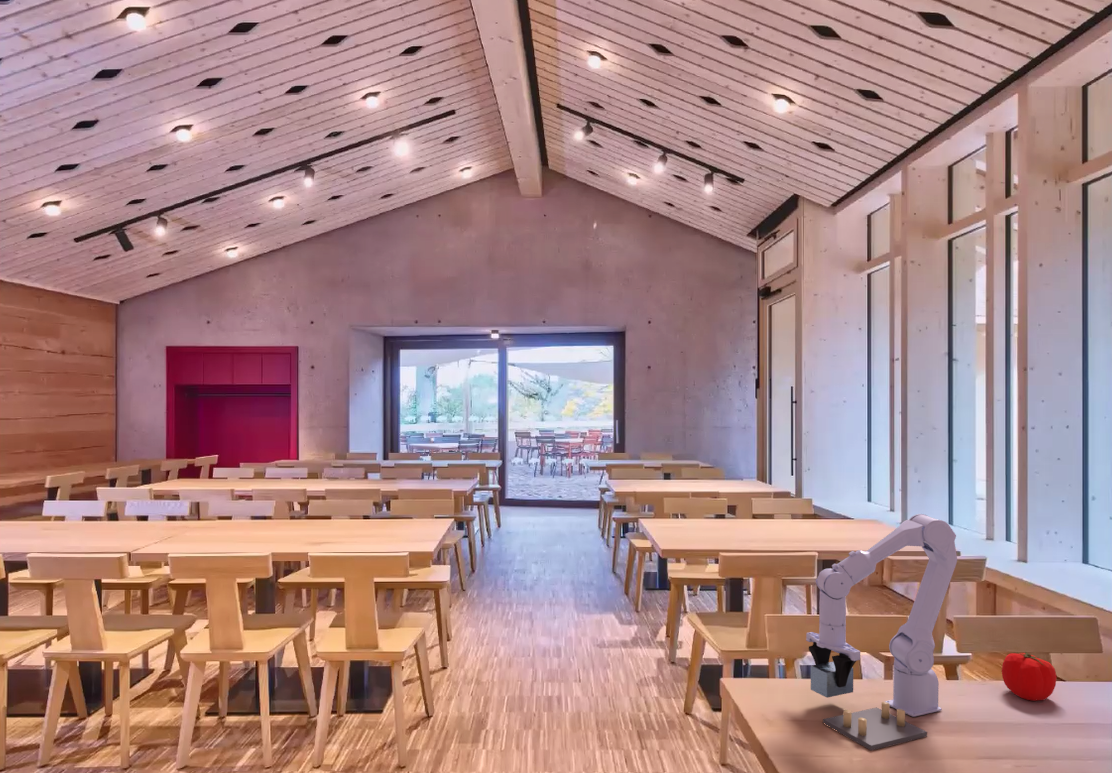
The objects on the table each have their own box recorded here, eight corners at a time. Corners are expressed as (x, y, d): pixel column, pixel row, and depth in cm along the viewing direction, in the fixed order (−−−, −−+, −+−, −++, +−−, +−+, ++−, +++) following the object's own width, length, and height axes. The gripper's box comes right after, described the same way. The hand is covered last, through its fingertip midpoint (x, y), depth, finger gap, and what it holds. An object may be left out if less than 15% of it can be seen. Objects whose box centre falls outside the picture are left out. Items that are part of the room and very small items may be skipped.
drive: (836, 684, 172) (836, 660, 172) (853, 692, 167) (853, 668, 167) (810, 689, 168) (810, 665, 169) (826, 697, 164) (827, 673, 164)
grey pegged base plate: (876, 711, 165) (876, 694, 165) (927, 736, 153) (927, 717, 153) (822, 723, 158) (823, 705, 158) (871, 750, 146) (871, 730, 146)
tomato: (1004, 700, 172) (1004, 657, 172) (999, 682, 184) (999, 641, 184) (1061, 710, 167) (1061, 665, 167) (1052, 691, 178) (1053, 649, 179)
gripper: (796, 615, 173) (796, 673, 173) (843, 634, 160) (843, 696, 160) (819, 612, 176) (818, 669, 176) (867, 630, 163) (867, 691, 163)
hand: (832, 681), depth 168 cm, fingers closed on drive, 5 cm apart
